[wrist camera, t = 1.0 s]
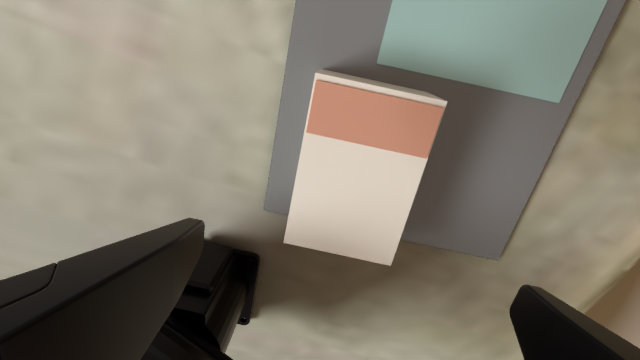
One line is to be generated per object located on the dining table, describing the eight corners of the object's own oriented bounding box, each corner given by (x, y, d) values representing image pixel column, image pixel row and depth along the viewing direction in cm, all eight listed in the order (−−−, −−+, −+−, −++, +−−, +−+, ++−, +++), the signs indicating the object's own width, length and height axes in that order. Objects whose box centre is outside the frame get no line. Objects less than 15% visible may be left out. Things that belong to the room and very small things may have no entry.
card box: (383, 229, 21) (391, 267, 17) (294, 209, 21) (282, 244, 17) (426, 91, 18) (448, 101, 14) (321, 68, 18) (314, 72, 14)
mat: (494, 256, 22) (498, 261, 21) (265, 206, 22) (263, 210, 21) (669, -105, 15) (682, -112, 14) (325, -182, 15) (325, -191, 14)
